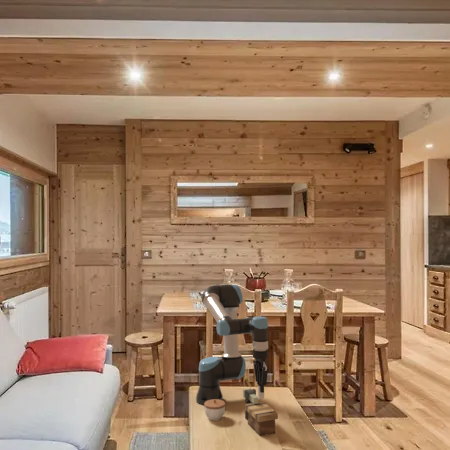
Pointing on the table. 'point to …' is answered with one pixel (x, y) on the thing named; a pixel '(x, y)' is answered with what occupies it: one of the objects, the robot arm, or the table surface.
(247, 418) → the keeper
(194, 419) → the table surface
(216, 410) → the lidded jar
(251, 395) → the bolt
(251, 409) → the lid
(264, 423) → the open wooden box
